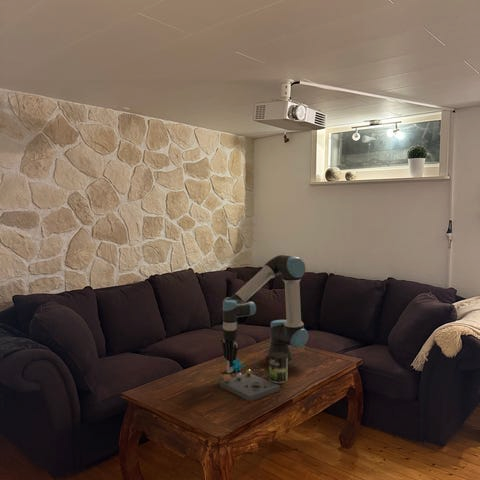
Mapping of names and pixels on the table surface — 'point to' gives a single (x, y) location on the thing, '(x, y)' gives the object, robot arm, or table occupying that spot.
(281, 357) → the coffee can
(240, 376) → the steel ball
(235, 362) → the gear
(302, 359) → the table surface
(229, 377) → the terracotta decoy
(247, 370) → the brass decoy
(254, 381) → the plate
